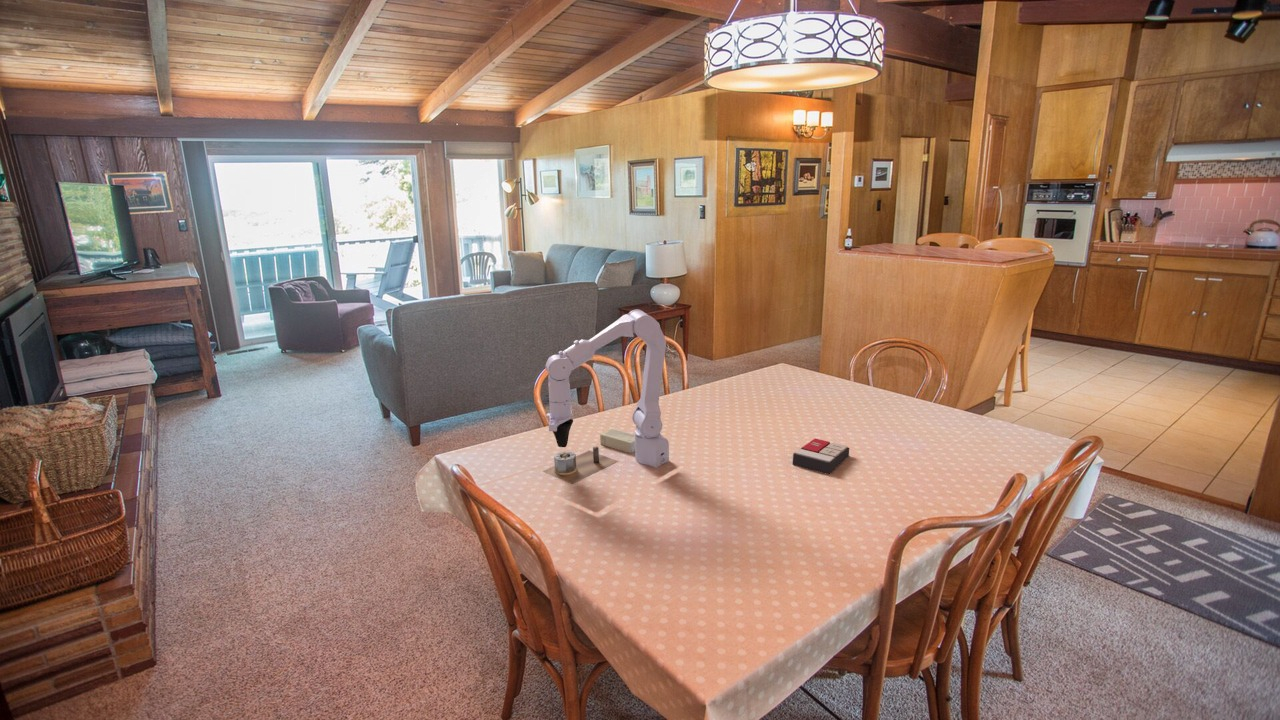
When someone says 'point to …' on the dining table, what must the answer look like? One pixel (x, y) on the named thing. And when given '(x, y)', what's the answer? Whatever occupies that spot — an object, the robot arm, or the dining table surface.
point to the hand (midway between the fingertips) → (562, 446)
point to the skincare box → (618, 440)
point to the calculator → (820, 456)
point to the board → (583, 466)
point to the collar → (565, 462)
